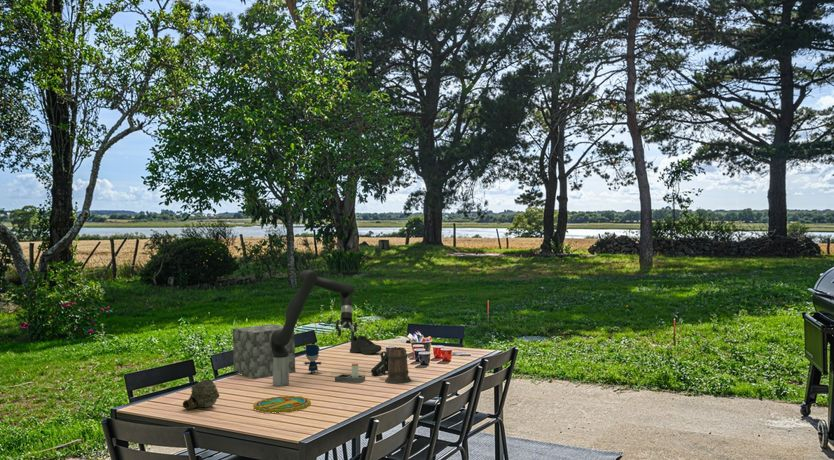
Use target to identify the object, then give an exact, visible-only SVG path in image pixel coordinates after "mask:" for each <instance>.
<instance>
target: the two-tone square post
mask: <svg viewBox="0 0 834 460" xmlns="http://www.w3.org/2000/svg"><path fill="white" fill-rule="evenodd" d="M351 375H352V378H359V376H360V375H359V363H358V362H352V363H351Z"/></svg>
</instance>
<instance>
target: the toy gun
mask: <svg viewBox="0 0 834 460" xmlns="http://www.w3.org/2000/svg"><path fill="white" fill-rule="evenodd" d="M387 353H388V354H389V351H387ZM383 356H384V359H385V354H383ZM380 359H381V358H380ZM385 361H386V372H388V358H387V359H385ZM380 368H381V369H382V372H381V371H380V372H381V374H382V373H383V369H384V365H383V361H382V359H381V360H380V361H378V363H377V364H376V365H374V367H373V368H372V369H370V372H371V376H374V377H375V376H379V375H378V373H377V370H378V369H380Z"/></svg>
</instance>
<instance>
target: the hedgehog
mask: <svg viewBox="0 0 834 460" xmlns="http://www.w3.org/2000/svg"><path fill="white" fill-rule="evenodd" d="M190 387H191V394H190V397H189V398H188V399H185V400H184V401H183V402H182V407H183V409H185V410H186V409H187V411H189V410H188V409H191V410H193V409H195V408H197V407H200V408H203V407H204V408H206V407H207V408H209V407H213V405H215V404H216V402H217V399H218V398H220V393H219V392H218V389H217V385H216V384H215V382H214V381H213V380H212V379H210V378H207V379H203V380H201V381H199V382H196V383H195V384H194V385H192V386H191V385H190ZM208 406H209V407H208Z"/></svg>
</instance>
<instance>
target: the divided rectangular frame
mask: <svg viewBox="0 0 834 460" xmlns="http://www.w3.org/2000/svg"><path fill="white" fill-rule="evenodd" d="M365 381H366V375H359V378H352V374H342V373H341V374H338V375H336V376H334V382H335V383H346V382H347V383H348V384H361V383H364V382H365Z"/></svg>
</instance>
